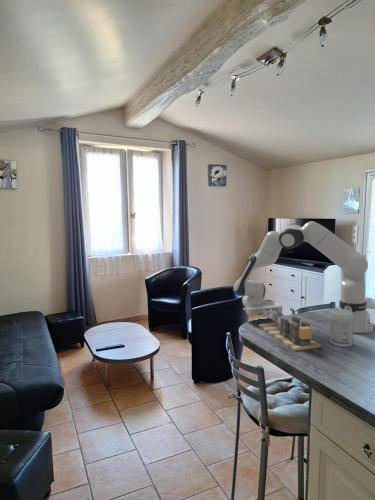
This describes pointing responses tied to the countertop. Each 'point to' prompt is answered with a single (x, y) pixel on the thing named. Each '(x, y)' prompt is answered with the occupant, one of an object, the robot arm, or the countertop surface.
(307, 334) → the orange block
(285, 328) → the wooden board
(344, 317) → the supplement tub
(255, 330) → the countertop surface
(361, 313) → the robot arm
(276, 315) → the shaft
